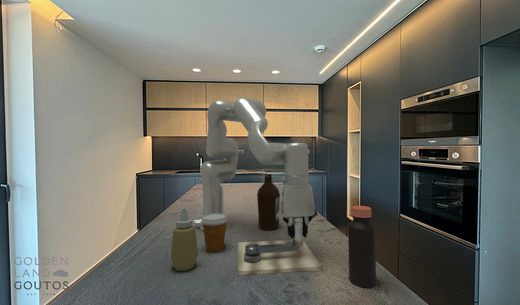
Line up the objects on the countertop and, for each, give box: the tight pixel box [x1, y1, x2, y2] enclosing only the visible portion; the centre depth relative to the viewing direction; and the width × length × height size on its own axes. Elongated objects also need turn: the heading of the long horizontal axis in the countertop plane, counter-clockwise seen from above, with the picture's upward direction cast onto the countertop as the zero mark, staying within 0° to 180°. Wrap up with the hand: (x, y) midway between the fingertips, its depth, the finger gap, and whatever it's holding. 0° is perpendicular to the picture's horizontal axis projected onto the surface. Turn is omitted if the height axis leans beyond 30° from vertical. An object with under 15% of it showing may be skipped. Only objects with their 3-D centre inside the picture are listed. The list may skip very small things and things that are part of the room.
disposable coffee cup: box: [201, 213, 229, 253], centre depth 87 cm, size 10×10×12 cm
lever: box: [245, 217, 304, 256], centre depth 77 cm, size 19×4×12 cm, turn 98°
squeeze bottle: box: [170, 208, 199, 272], centre depth 74 cm, size 8×8×18 cm
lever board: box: [237, 239, 324, 276], centre depth 80 cm, size 25×22×3 cm
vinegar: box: [347, 205, 377, 289], centre depth 64 cm, size 7×7×20 cm
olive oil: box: [256, 173, 281, 231], centre depth 111 cm, size 11×11×25 cm
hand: (297, 236), depth 78 cm, fingers closed on lever, 3 cm apart
